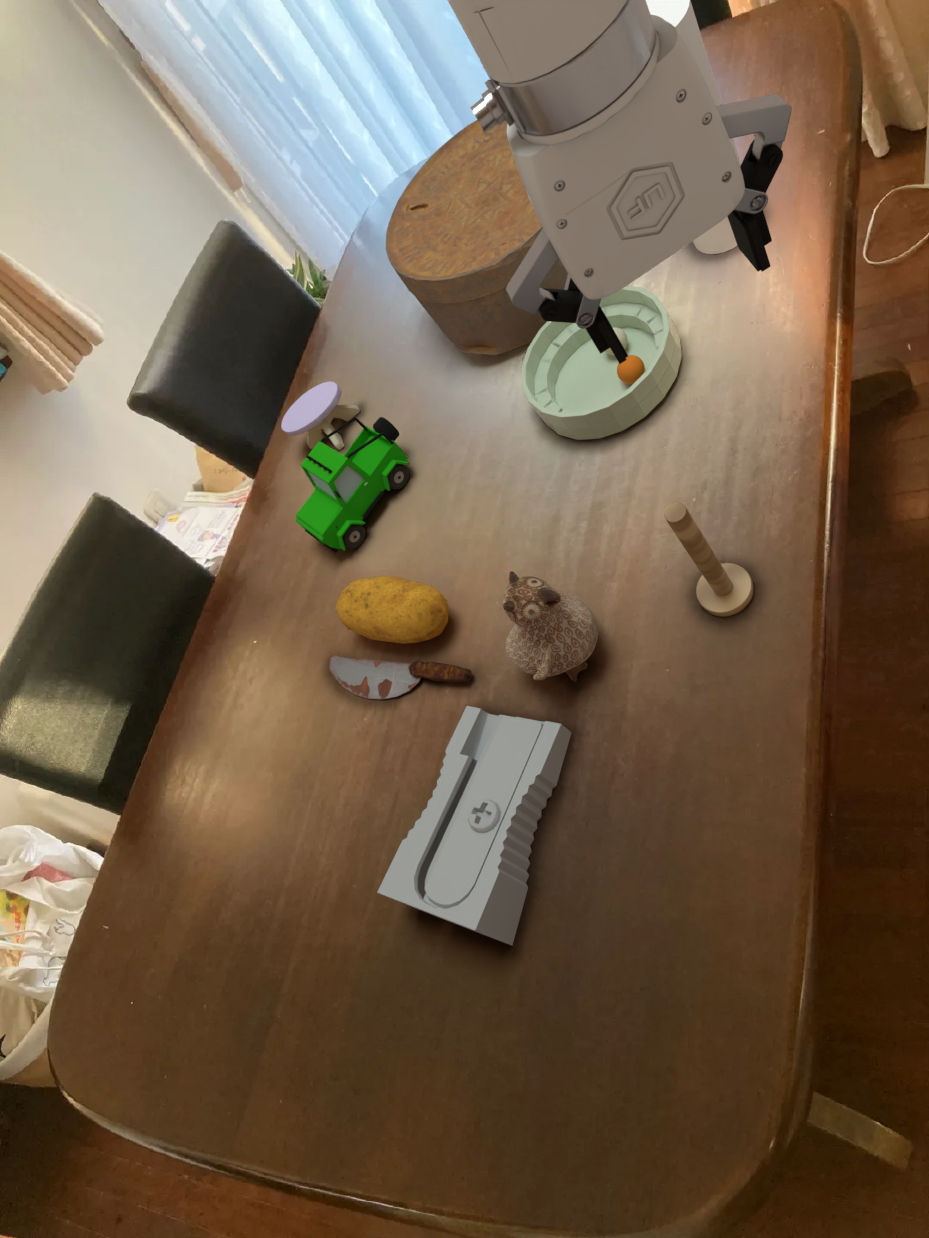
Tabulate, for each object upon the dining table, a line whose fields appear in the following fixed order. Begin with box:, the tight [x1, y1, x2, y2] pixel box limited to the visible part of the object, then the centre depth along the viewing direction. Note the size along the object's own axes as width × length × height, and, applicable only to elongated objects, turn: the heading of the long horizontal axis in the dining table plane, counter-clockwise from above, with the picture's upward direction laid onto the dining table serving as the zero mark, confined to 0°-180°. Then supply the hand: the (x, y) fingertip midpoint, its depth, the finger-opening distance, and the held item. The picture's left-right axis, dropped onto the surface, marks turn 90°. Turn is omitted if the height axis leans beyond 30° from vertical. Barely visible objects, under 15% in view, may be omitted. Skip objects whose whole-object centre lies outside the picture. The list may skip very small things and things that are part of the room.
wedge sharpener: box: [376, 705, 572, 947], centre depth 76 cm, size 11×20×7 cm, turn 159°
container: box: [385, 119, 568, 356], centre depth 103 cm, size 28×28×15 cm
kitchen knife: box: [328, 653, 474, 700], centre depth 92 cm, size 21×2×5 cm
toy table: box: [280, 381, 361, 451], centre depth 114 cm, size 10×9×6 cm
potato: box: [335, 575, 450, 645], centre depth 92 cm, size 7×14×7 cm, turn 68°
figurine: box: [502, 570, 599, 683], centre depth 76 cm, size 9×10×15 cm
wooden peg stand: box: [663, 502, 755, 617], centre depth 70 cm, size 5×5×15 cm
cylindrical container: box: [646, 0, 742, 255], centre depth 84 cm, size 7×7×25 cm
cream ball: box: [604, 327, 628, 355], centre depth 93 cm, size 3×3×3 cm
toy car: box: [295, 416, 411, 554], centre depth 103 cm, size 8×17×10 cm, turn 136°
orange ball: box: [617, 355, 645, 384], centre depth 90 cm, size 3×3×3 cm
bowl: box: [520, 285, 683, 441], centre depth 92 cm, size 17×17×5 cm
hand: (683, 304), depth 52 cm, fingers open, 9 cm apart
